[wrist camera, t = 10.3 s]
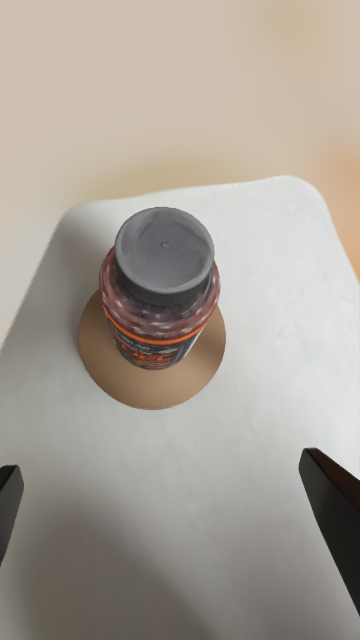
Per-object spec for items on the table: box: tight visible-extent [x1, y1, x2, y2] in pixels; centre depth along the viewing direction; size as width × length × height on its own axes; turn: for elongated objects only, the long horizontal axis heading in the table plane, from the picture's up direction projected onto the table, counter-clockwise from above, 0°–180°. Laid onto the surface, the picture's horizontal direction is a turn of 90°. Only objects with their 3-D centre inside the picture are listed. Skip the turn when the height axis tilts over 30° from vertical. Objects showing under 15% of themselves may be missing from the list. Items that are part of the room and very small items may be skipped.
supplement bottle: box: [99, 207, 220, 370], centre depth 17 cm, size 6×6×11 cm
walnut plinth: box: [78, 289, 226, 410], centre depth 23 cm, size 11×11×2 cm
